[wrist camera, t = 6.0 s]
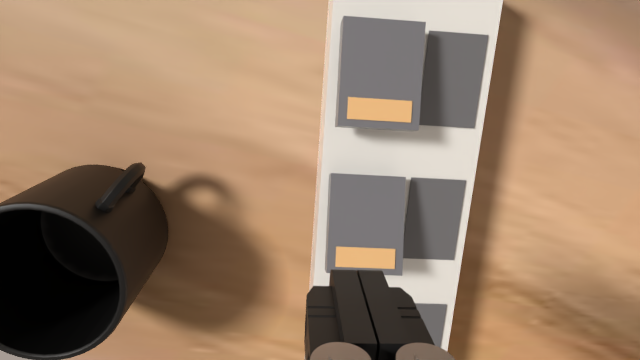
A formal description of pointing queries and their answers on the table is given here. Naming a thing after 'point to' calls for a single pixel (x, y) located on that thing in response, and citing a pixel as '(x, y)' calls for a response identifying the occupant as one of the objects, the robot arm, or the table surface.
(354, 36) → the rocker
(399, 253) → the plate
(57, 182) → the mug
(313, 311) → the robot arm
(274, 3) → the table surface
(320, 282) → the power strip
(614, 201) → the table surface
